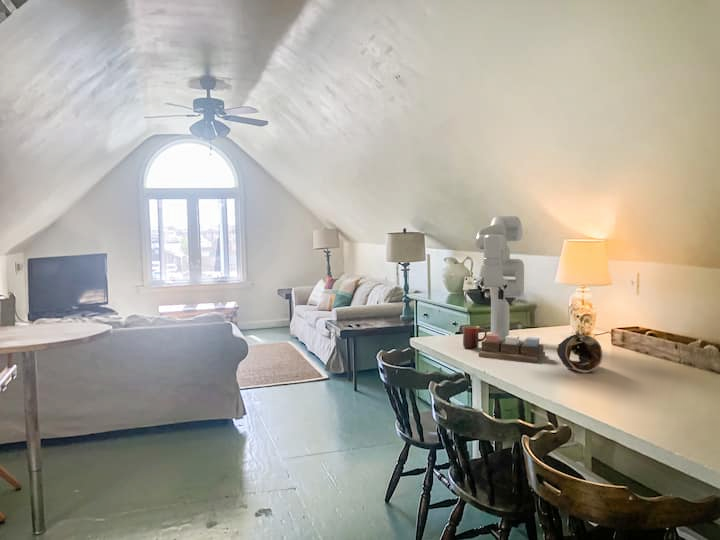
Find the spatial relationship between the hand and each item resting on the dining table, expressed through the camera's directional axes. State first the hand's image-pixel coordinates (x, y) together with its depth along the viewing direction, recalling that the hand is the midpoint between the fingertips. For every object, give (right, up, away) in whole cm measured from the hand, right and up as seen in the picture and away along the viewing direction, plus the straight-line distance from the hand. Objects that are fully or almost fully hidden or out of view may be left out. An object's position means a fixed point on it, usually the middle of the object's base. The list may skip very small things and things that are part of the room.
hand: (491, 299), depth 251 cm
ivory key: (+9, -21, 0) cm, 23 cm away
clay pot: (+31, -27, -18) cm, 45 cm away
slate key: (+17, -21, -5) cm, 28 cm away
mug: (-4, -25, +19) cm, 31 cm away
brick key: (+2, -21, +5) cm, 21 cm away
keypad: (+9, -26, 0) cm, 28 cm away
